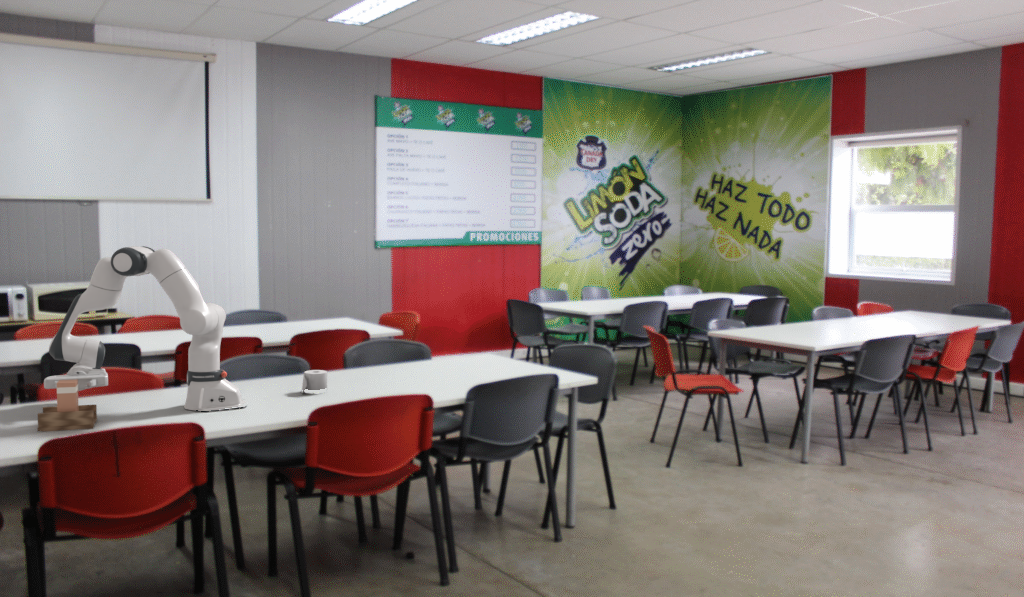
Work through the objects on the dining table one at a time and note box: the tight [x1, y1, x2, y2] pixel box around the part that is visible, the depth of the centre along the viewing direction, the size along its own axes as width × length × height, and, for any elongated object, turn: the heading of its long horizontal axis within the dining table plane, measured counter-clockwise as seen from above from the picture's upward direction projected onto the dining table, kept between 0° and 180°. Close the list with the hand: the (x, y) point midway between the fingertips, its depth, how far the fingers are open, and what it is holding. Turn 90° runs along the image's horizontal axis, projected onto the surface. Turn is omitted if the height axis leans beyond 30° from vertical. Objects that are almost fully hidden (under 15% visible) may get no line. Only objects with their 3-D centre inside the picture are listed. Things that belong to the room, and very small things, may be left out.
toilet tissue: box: [301, 369, 328, 391], centre depth 328 cm, size 9×13×9 cm
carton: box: [56, 379, 79, 412], centre depth 264 cm, size 6×6×14 cm
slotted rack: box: [37, 404, 98, 432], centre depth 265 cm, size 16×12×6 cm
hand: (74, 385), depth 276 cm, fingers open, 8 cm apart
